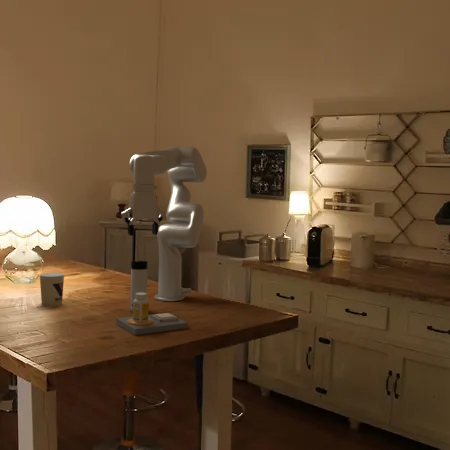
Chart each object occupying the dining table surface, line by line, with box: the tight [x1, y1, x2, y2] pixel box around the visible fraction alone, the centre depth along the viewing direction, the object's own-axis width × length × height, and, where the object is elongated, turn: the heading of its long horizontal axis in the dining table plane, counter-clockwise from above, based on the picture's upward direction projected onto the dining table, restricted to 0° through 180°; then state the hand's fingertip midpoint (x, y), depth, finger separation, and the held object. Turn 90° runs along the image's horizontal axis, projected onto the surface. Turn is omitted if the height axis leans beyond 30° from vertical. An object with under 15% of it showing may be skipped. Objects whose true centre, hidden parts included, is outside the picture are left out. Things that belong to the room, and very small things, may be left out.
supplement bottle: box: [132, 292, 150, 322], centre depth 226 cm, size 5×5×10 cm
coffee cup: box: [39, 272, 65, 308], centre depth 256 cm, size 9×9×12 cm
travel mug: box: [130, 260, 148, 313], centre depth 249 cm, size 6×7×20 cm
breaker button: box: [154, 312, 175, 319], centre depth 231 cm, size 5×5×3 cm
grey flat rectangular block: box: [115, 312, 189, 336], centre depth 228 cm, size 20×16×3 cm
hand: (143, 234), depth 242 cm, fingers open, 9 cm apart
